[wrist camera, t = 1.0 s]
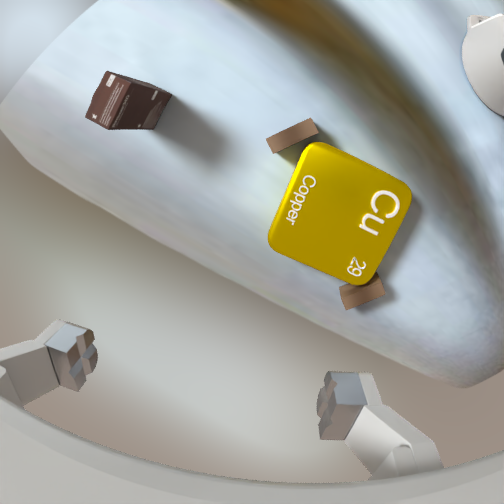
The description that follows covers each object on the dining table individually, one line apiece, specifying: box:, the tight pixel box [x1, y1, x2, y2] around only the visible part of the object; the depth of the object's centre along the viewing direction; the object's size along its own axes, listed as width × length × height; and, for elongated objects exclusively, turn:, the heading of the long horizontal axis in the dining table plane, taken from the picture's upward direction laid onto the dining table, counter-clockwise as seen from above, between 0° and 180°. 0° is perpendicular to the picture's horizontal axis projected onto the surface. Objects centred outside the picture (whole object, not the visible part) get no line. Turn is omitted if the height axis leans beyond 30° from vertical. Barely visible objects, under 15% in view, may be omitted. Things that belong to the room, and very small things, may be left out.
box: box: [85, 71, 172, 130], centre depth 33 cm, size 6×4×12 cm
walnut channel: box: [266, 118, 385, 310], centre depth 38 cm, size 6×25×4 cm, turn 27°
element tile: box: [268, 142, 412, 285], centre depth 38 cm, size 15×15×5 cm
